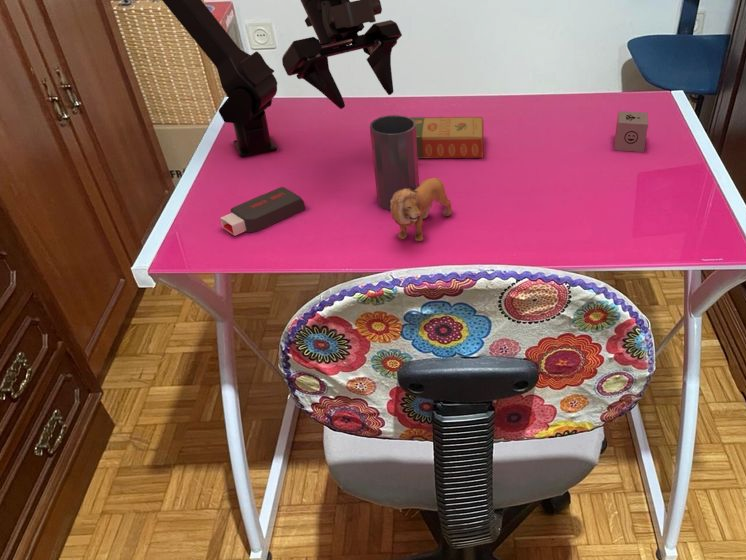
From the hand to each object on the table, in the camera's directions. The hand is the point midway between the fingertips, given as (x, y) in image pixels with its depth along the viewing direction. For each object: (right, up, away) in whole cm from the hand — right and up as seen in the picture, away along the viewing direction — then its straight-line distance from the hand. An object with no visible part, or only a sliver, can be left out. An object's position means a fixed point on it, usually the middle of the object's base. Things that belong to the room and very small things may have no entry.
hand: (367, 100), depth 110 cm
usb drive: (-16, -18, +1) cm, 24 cm away
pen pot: (+4, -14, +4) cm, 16 cm away
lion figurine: (+9, -20, -2) cm, 22 cm away
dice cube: (+44, -2, +19) cm, 48 cm away
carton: (+10, -2, +18) cm, 21 cm away
